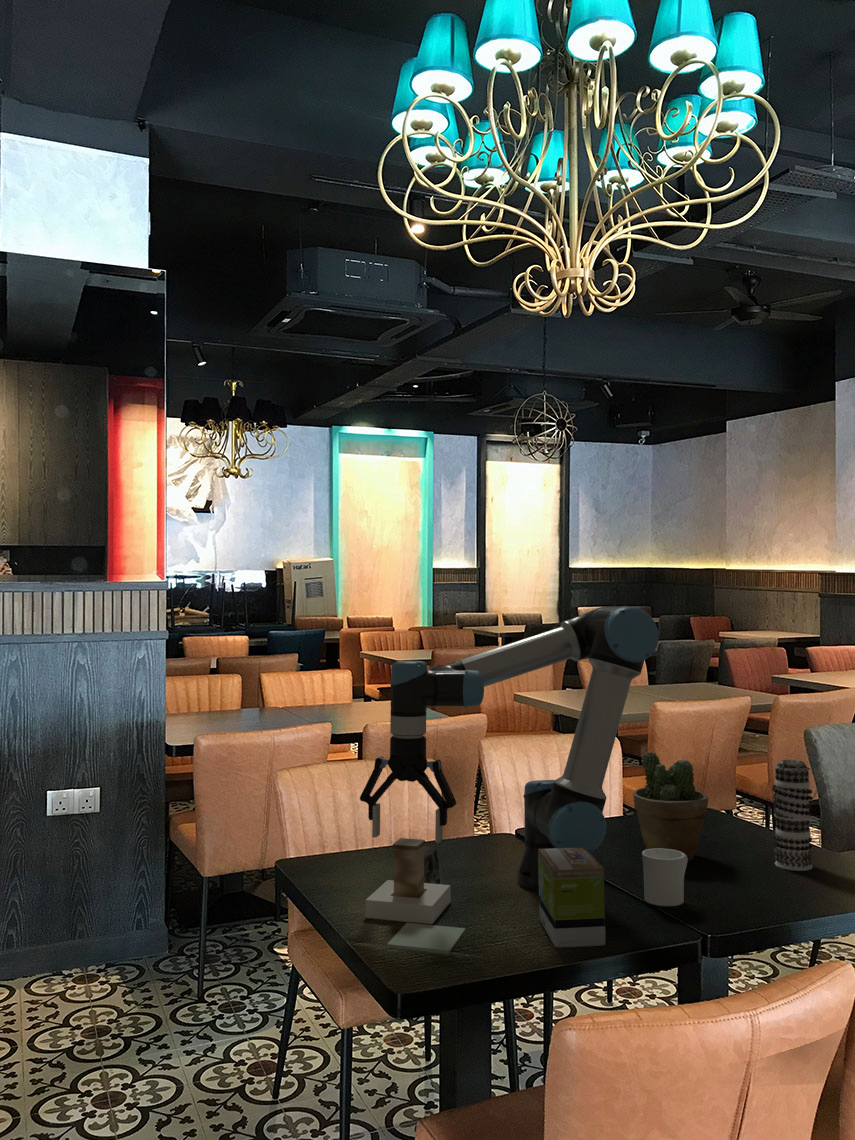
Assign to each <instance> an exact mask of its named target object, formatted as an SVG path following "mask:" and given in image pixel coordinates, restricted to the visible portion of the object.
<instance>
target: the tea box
mask: <svg viewBox="0 0 855 1140" xmlns="http://www.w3.org/2000/svg"><path fill="white" fill-rule="evenodd" d="M538 875H539V891H538V901H539V903H538V908H539V910H538V911H539V912H538V913H539V914H538V915H539V920H540V923H541V924H542V926H543V929H544V931H545V932H546V933H547V935H548V937H549V939H550V941H551V942H552V944H553V946H554V947H555V948H578V947H580V948H581V947H599V946H606V903H605V900H606V899H605V893H606V892H605V868H604V867H603V866H602V865H601V864H600V863H599V861H598V860H597V859H596V858H595V857H594V856H593V855H592V854H591V852H590V853H589V852H588V851H587V850H586V849H585V847H572V848H551V849H538Z"/></svg>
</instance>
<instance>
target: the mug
mask: <svg viewBox="0 0 855 1140" xmlns="http://www.w3.org/2000/svg"><path fill="white" fill-rule="evenodd" d="M641 856H642V865H643V888H644V895H643V896H644V903H645V902H646V903H647V904H646V905H648V906H650V907H652V906H655V907H654V908H656V907H662V908H674V909H676V908H675V907H679V908H681V907H683V905H684V902H685V901H684V900H685V898H684V897H685V895H684V894H685V893H684V892H685V889H684V887H685V886H684V885H685V874H686V869H687V865H688V862H689V861H688V858H687V855H685V854H684V853H682V852H680V851H677V850H672V849H663V848H654V849H644V850H642V852H641ZM680 906H681V907H680ZM662 908H661V909H662Z"/></svg>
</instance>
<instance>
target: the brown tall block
mask: <svg viewBox="0 0 855 1140" xmlns="http://www.w3.org/2000/svg"><path fill="white" fill-rule="evenodd" d="M391 844H392V845H391V846H392V847H391V848H392V849H393V880H394V896H400V897H411V898H420V897H421V896H422V895H423V894H424V846H425V844H426V840H425V839H417V838H404V837H400V838H399V839H398V840H396V841H395V842H394V843H391Z"/></svg>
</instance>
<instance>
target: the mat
mask: <svg viewBox="0 0 855 1140" xmlns="http://www.w3.org/2000/svg"><path fill="white" fill-rule="evenodd" d="M466 929H467V928H466V927H455V926H445V925H444V926H443V925H433V924H426V923H416V922H406V923H405V924H404V925H403V926H402V927H401V929H400V930H398V932H397V933H396V934H395V935H394V936H393V937H392V938H391V939H390V940H389V941H388V942H387V944H386V947H387V949H388V948H389V949H397V950H398V949H400V950H408V951H420V952H428V953H437V954H446V955H450V954H451V952H452V951H451V950H452V949H453V948H454V946H455V944H456V943H457V942H458V940H459V939H460V937H462V935H463V934H464V932H465V930H466Z"/></svg>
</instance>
